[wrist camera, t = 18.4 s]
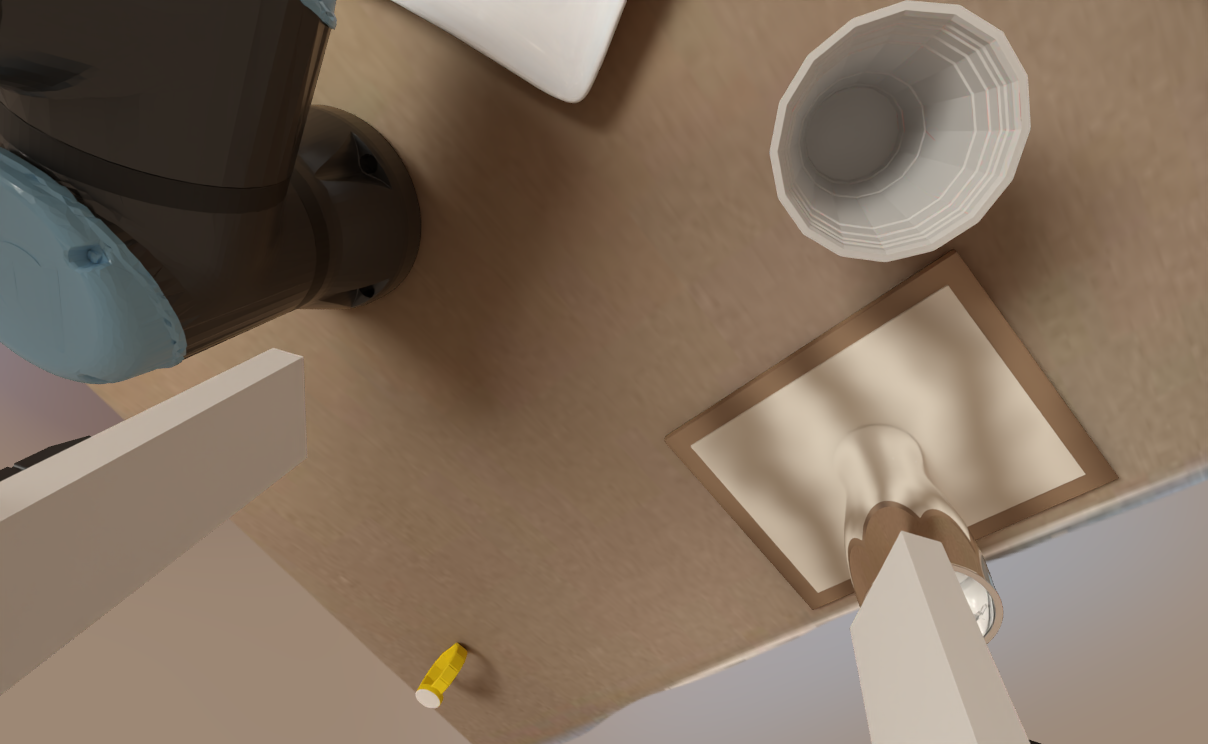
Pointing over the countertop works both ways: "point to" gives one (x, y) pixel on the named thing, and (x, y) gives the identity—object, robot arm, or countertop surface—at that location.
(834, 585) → the picture frame
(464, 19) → the salad plate
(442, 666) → the watch
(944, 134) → the plastic cup
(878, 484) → the beer glass
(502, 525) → the countertop surface
